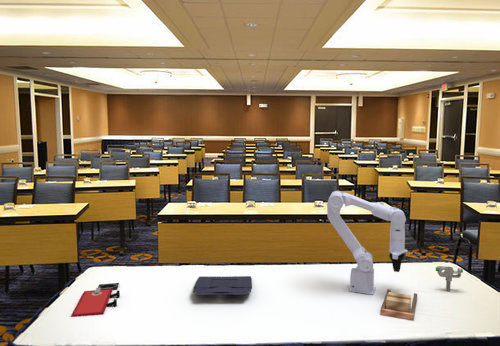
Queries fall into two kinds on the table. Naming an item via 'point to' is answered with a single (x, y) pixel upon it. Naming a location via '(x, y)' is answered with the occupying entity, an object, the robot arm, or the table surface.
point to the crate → (398, 302)
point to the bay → (398, 313)
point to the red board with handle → (96, 300)
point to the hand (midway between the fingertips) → (396, 271)
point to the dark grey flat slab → (223, 285)
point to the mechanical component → (448, 274)
